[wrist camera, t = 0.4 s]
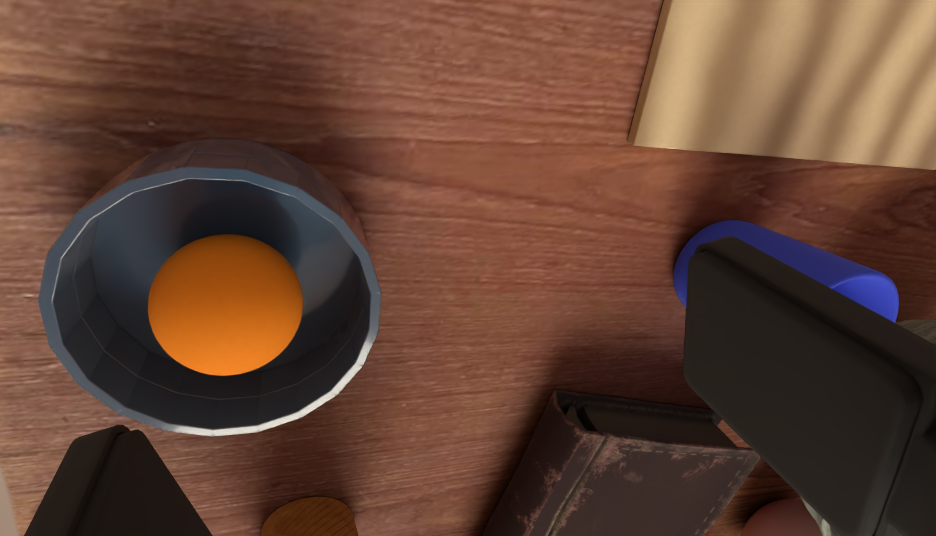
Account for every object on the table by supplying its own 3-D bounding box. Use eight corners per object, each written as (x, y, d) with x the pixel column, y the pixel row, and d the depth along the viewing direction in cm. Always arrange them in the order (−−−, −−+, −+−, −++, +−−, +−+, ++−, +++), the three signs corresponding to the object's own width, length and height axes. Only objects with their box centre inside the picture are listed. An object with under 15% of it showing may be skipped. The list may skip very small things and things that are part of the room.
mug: (729, 346, 41) (843, 438, 32) (634, 282, 35) (742, 372, 27) (804, 263, 39) (946, 337, 31) (717, 181, 33) (861, 244, 25)
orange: (140, 234, 25) (95, 302, 19) (277, 198, 26) (272, 252, 20) (199, 341, 28) (175, 425, 22) (318, 305, 29) (323, 377, 23)
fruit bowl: (21, 180, 23) (-43, 222, 19) (325, 107, 25) (331, 130, 21) (163, 403, 29) (140, 472, 25) (394, 330, 32) (409, 382, 27)
